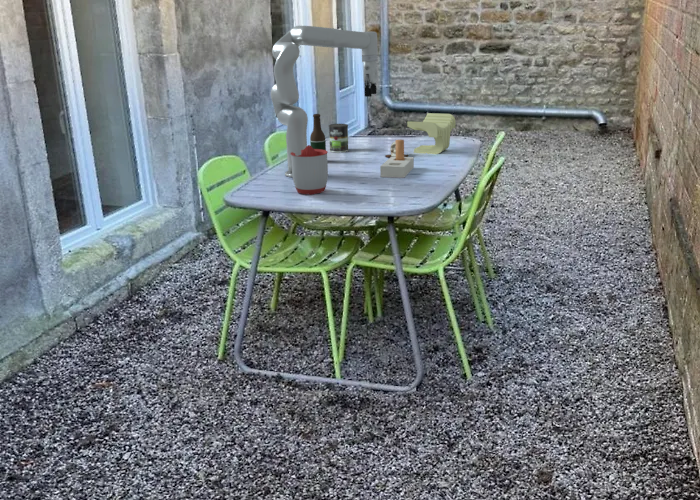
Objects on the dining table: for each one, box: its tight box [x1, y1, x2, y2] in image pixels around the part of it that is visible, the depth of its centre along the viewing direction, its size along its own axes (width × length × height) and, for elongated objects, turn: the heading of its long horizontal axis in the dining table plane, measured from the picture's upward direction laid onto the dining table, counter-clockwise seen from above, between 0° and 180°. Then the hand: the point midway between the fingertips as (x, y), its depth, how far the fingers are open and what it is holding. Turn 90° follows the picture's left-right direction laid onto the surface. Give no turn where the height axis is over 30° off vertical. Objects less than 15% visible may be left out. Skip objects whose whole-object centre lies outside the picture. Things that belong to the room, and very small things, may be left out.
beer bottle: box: [309, 113, 327, 151], centre depth 363 cm, size 8×8×24 cm
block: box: [379, 156, 415, 179], centre depth 337 cm, size 22×11×5 cm, turn 164°
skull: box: [384, 141, 409, 158], centre depth 373 cm, size 12×10×10 cm
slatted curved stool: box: [407, 112, 456, 155], centre depth 380 cm, size 30×16×18 cm, turn 154°
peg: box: [394, 139, 405, 161], centre depth 341 cm, size 4×4×14 cm
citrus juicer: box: [291, 144, 329, 196], centre depth 305 cm, size 16×17×20 cm
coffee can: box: [328, 123, 349, 154], centre depth 390 cm, size 10×10×14 cm
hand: (370, 95), depth 348 cm, fingers open, 9 cm apart
